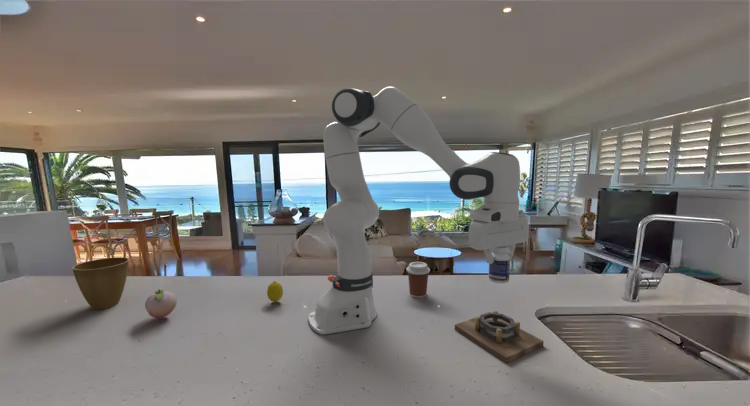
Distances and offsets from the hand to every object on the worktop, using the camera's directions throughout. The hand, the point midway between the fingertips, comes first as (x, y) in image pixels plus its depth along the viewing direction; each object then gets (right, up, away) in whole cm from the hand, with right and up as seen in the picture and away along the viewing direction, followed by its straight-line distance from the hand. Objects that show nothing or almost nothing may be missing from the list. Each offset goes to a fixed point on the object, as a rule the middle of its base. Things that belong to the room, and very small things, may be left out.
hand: (499, 261), depth 81 cm
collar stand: (0, -22, +2) cm, 22 cm away
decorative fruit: (-105, -22, +16) cm, 109 cm away
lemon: (-71, -21, +27) cm, 79 cm away
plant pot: (-133, -21, +26) cm, 137 cm away
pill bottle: (0, -6, +1) cm, 6 cm away
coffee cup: (-18, -20, +32) cm, 42 cm away
